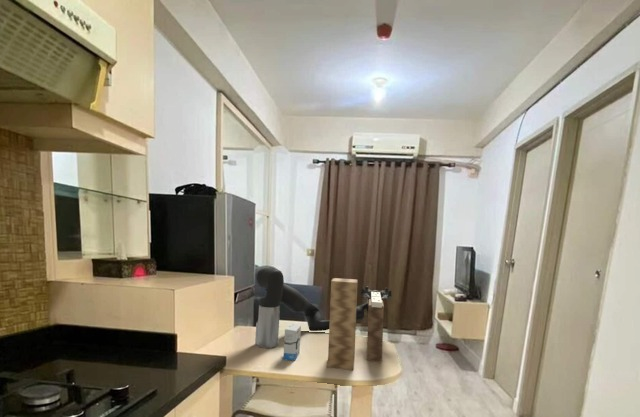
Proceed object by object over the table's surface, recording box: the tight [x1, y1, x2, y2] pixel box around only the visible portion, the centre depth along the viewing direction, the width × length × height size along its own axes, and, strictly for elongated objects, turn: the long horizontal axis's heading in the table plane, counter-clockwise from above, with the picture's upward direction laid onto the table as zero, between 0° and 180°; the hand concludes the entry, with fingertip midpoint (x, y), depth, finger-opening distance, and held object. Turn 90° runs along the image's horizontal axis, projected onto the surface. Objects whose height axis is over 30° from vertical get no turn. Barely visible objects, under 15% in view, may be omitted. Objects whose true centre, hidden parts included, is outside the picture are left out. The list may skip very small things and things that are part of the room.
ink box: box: [283, 323, 302, 361], centre depth 138 cm, size 8×5×12 cm, turn 168°
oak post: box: [326, 277, 358, 371], centre depth 134 cm, size 10×11×32 cm
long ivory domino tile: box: [371, 292, 382, 308], centre depth 146 cm, size 4×22×2 cm, turn 172°
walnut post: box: [366, 299, 385, 362], centre depth 143 cm, size 6×12×22 cm, turn 172°
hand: (376, 289), depth 154 cm, fingers open, 8 cm apart
